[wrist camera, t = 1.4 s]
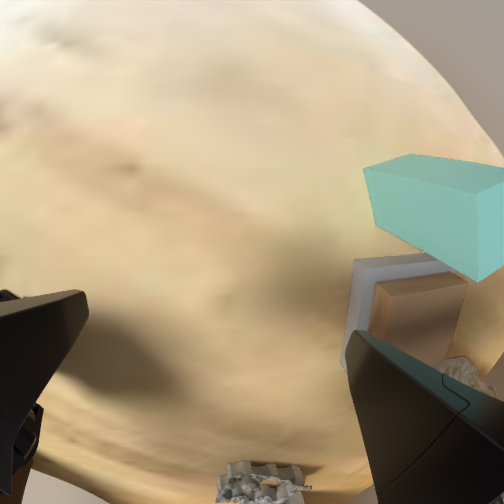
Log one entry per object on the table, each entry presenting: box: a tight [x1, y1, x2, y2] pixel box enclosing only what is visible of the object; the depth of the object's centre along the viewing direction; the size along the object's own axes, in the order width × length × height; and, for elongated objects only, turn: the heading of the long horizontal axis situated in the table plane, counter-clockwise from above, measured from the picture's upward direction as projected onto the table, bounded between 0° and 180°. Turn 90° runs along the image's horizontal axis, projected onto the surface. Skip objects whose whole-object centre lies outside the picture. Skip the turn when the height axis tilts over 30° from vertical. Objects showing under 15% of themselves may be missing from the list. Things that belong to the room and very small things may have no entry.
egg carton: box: [215, 460, 312, 504], centre depth 30 cm, size 11×8×4 cm
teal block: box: [363, 154, 504, 283], centre depth 16 cm, size 4×4×11 cm
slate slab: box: [340, 253, 456, 373], centre depth 25 cm, size 10×10×2 cm
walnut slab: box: [367, 271, 468, 366], centre depth 22 cm, size 8×8×2 cm
